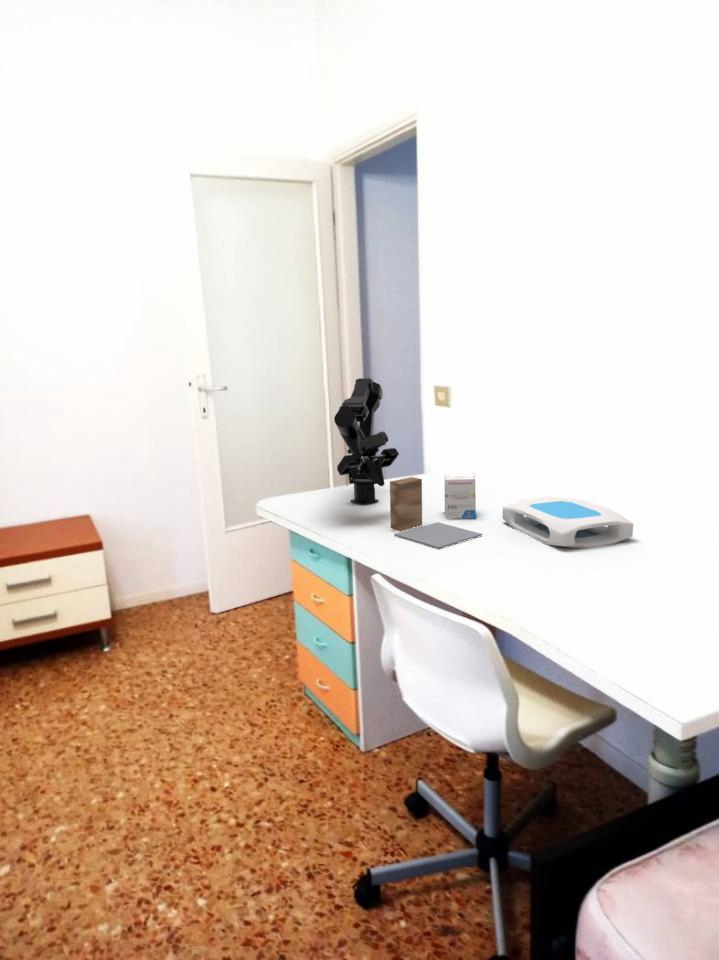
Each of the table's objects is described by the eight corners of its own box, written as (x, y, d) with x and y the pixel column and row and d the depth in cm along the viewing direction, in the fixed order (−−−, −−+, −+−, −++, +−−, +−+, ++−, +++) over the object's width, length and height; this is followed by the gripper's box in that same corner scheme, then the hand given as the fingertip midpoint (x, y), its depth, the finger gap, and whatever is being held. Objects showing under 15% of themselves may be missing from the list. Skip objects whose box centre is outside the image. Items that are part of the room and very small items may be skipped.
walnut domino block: (390, 528, 188) (389, 481, 185) (412, 522, 192) (411, 477, 190) (400, 531, 184) (399, 483, 182) (422, 525, 189) (421, 479, 187)
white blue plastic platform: (566, 515, 196) (567, 493, 195) (634, 542, 170) (635, 517, 169) (500, 523, 190) (501, 501, 189) (561, 552, 164) (561, 527, 163)
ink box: (474, 511, 202) (474, 472, 200) (475, 519, 194) (476, 478, 192) (444, 511, 203) (444, 472, 201) (444, 519, 195) (444, 478, 192)
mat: (394, 535, 180) (394, 533, 180) (437, 523, 190) (437, 522, 190) (438, 549, 168) (438, 547, 168) (482, 535, 178) (482, 533, 178)
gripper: (341, 426, 184) (369, 472, 178) (394, 419, 196) (421, 462, 190) (325, 452, 192) (351, 497, 186) (376, 444, 204) (402, 486, 197)
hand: (382, 485), depth 190 cm, fingers closed
